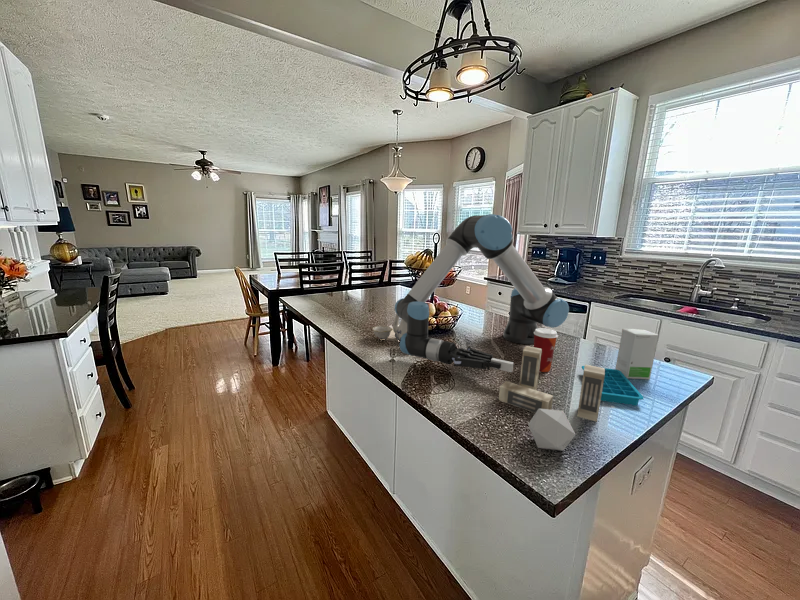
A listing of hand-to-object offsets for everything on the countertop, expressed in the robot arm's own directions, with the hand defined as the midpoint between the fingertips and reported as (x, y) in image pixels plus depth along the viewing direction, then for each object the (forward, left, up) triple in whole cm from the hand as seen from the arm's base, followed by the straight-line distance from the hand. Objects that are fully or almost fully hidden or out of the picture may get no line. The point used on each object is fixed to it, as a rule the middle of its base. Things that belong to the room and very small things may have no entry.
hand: (512, 367), depth 100 cm
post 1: (-1, +5, -6) cm, 8 cm away
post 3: (+5, +21, -6) cm, 22 cm away
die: (+24, +14, -7) cm, 29 cm away
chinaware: (-15, -48, -7) cm, 51 cm away
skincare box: (-32, +33, -7) cm, 46 cm away
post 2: (+8, -1, -4) cm, 9 cm away
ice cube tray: (-16, +26, -7) cm, 31 cm away
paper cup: (-20, +6, -7) cm, 22 cm away
